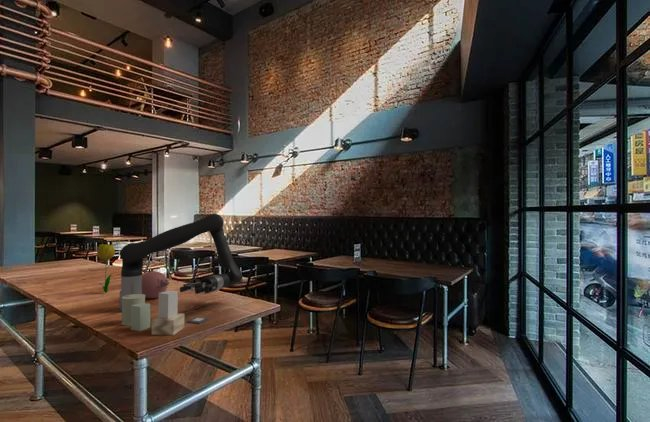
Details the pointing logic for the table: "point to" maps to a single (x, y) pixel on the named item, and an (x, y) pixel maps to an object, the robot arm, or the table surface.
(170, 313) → the grey block
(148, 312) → the sage block
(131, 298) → the can
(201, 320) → the card
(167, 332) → the base block
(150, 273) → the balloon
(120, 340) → the table surface
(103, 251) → the flower
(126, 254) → the robot arm
